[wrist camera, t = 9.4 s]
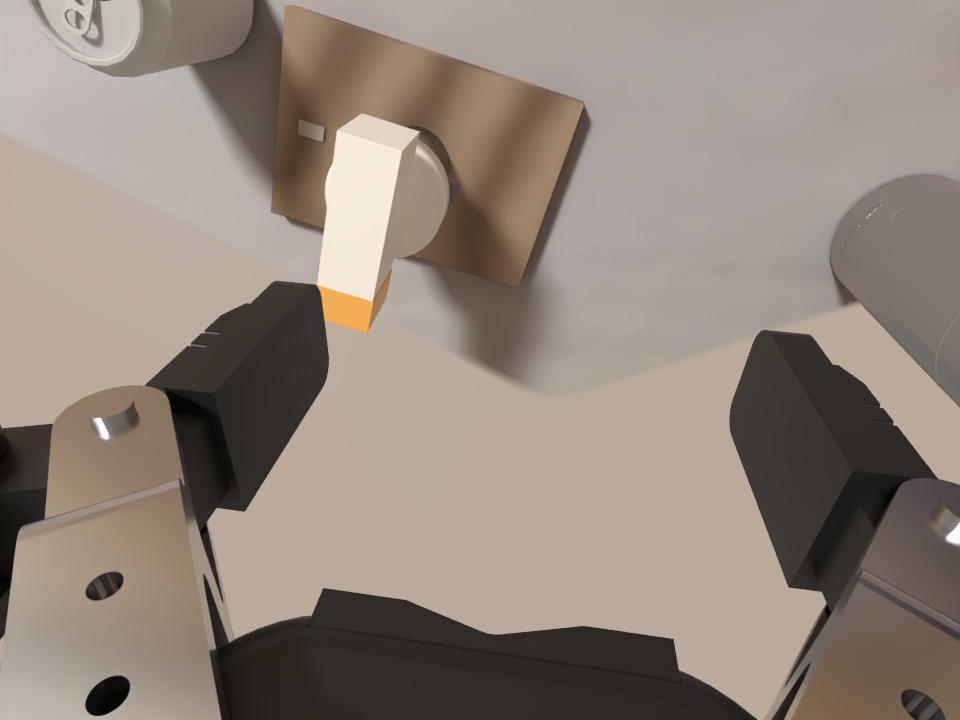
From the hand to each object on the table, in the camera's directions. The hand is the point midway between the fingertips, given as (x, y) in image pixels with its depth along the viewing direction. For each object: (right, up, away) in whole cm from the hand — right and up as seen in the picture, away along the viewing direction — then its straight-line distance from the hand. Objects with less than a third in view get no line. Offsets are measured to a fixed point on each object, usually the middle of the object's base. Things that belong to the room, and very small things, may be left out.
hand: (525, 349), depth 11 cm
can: (-19, +24, +27) cm, 41 cm away
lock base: (-5, +15, +31) cm, 35 cm away
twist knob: (-6, +10, +24) cm, 27 cm away
